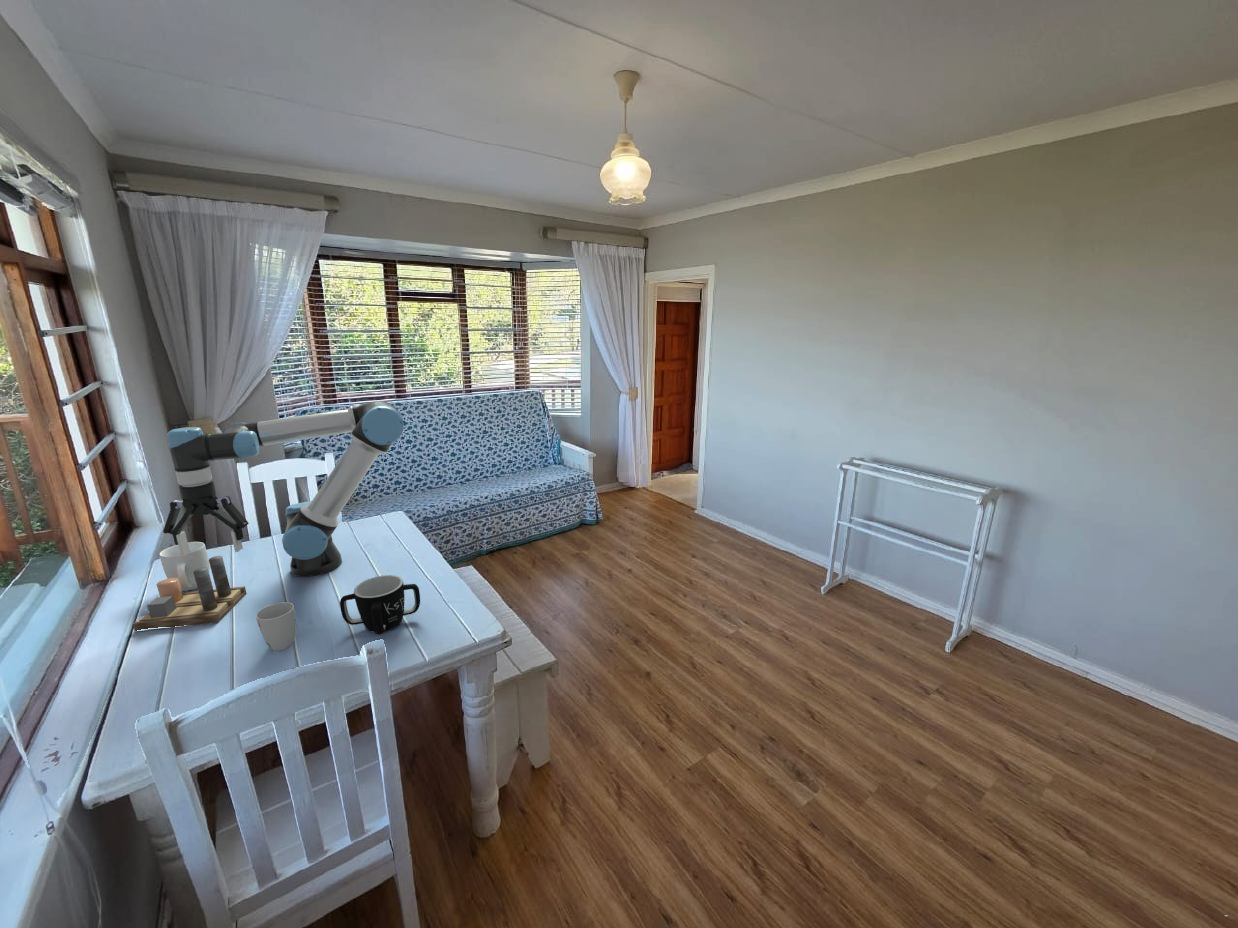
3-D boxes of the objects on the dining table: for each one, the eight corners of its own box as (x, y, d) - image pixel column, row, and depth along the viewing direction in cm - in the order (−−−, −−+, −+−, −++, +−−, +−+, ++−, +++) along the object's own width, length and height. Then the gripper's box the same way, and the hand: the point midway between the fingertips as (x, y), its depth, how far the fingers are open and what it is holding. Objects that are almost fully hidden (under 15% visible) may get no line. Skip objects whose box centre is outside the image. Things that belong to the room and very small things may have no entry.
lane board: (246, 593, 154) (244, 586, 154) (218, 622, 139) (216, 614, 139) (172, 601, 150) (170, 593, 150) (134, 631, 135) (132, 623, 135)
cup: (275, 635, 133) (267, 602, 130) (306, 634, 134) (300, 601, 131) (256, 655, 125) (248, 620, 123) (290, 653, 126) (282, 618, 123)
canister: (187, 594, 149) (182, 576, 147) (177, 603, 145) (171, 584, 143) (168, 596, 148) (163, 578, 146) (157, 605, 144) (152, 586, 142)
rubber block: (176, 608, 142) (173, 595, 141) (167, 616, 138) (163, 603, 137) (160, 610, 141) (156, 597, 140) (150, 617, 137) (146, 605, 136)
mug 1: (211, 593, 154) (201, 555, 151) (164, 604, 149) (152, 565, 145) (215, 574, 166) (206, 538, 163) (172, 583, 161) (162, 546, 157)
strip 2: (241, 593, 152) (231, 553, 149) (232, 601, 148) (222, 560, 144) (169, 600, 149) (157, 560, 145) (158, 609, 144) (146, 567, 140)
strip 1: (228, 606, 145) (217, 564, 142) (218, 615, 141) (207, 573, 137) (152, 614, 142) (139, 572, 138) (140, 624, 137) (126, 580, 133)
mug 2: (374, 649, 127) (367, 607, 124) (339, 629, 136) (332, 590, 132) (428, 618, 141) (423, 580, 137) (393, 602, 149) (388, 566, 146)
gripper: (252, 476, 145) (266, 543, 151) (153, 481, 140) (171, 550, 146) (239, 484, 138) (254, 553, 144) (134, 489, 133) (154, 561, 139)
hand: (212, 552), depth 145 cm, fingers open, 13 cm apart
